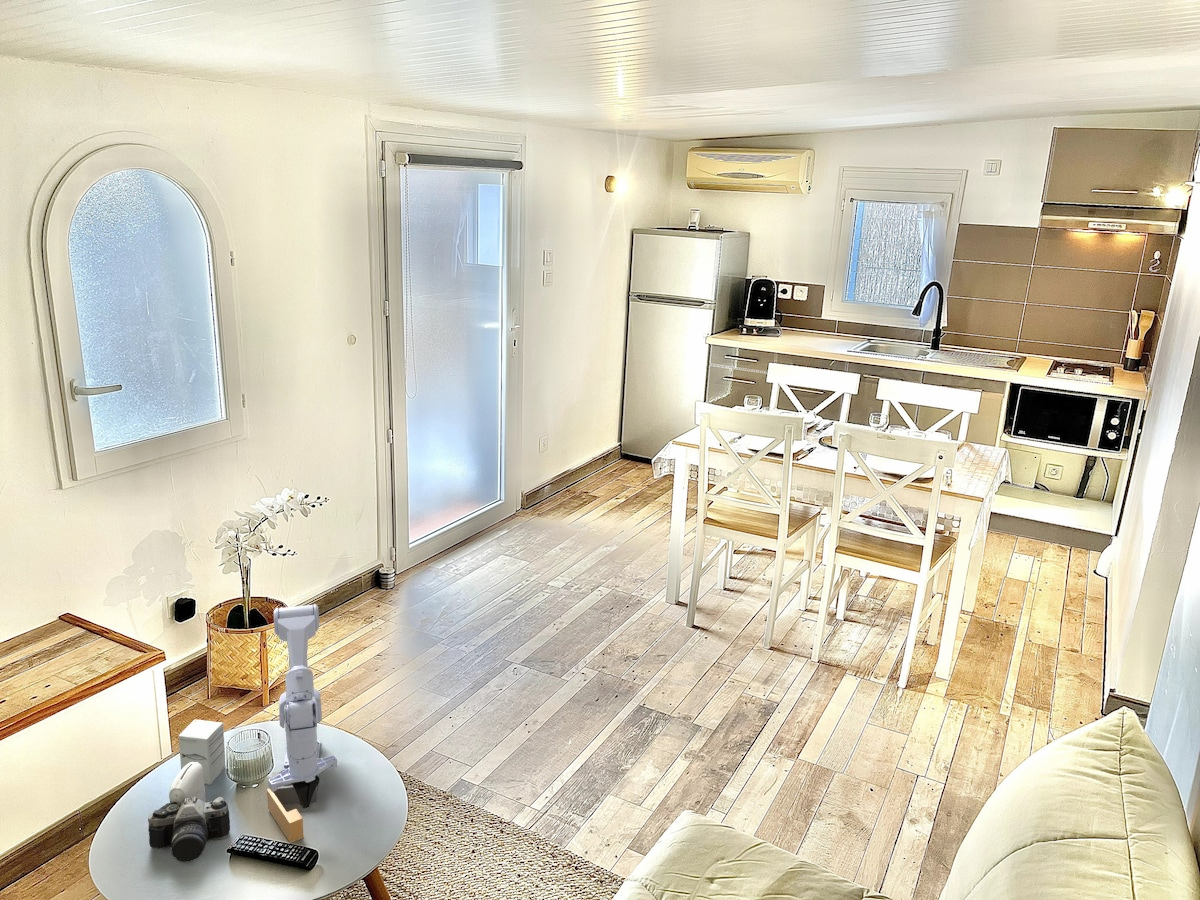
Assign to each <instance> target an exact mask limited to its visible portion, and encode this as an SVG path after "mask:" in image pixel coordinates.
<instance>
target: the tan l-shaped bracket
mask: <svg viewBox="0 0 1200 900" xmlns="http://www.w3.org/2000/svg"><path fill="white" fill-rule="evenodd" d="M266 797H267V800H266V801H267V809H268V811H269V812H270V814H271V815H272V817H273V818H274V820H275V821H276V823H277V825H278V826H279V827H280V828H281V831H282V832H283V833H284V835H285V837H286V838H287V840H288V841H289V842H290V844H291V843H294V842H296V841H299V840H301V839H304V821H303V820H304V819H303V817H302V815H301V814H300V812H299V811H298V809H297V808H294V809H292V810H289V811H286V809H285V807H284V805H282V804H281V803H280V801H279V800H278V798H277V797H276V796H275V794H274V793H273V792H272V791H271V790H270V789H269V788H267V789H266Z"/></svg>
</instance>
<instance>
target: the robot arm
mask: <svg viewBox="0 0 1200 900" xmlns="http://www.w3.org/2000/svg"><path fill="white" fill-rule="evenodd" d="M319 611H320V610H319V606H318V605H317V604H316V603H313V604H309V605H307V604H306V605H298V606H297V605H295V606H286V607H275V609H274V610H273V628H274V634H275V635H276V636H278V639H279V640H280V641H284V642H286V643H287V649H288V650H287V651H288V662H289V663H288V665H289V668H288V669H289V670H288V672H287V673H286V674H285V679H284V681H285V691H284V692H283V693H282V694H280V697H279V698H278V699H279V700H278V701H279V702H278V712H279V713H278V715H279V718H278V719H279V726H280V727H281V728H282V729H284V728H285V729H284V730H285V738H286V739H285V741H286V752H285V756H284V761H283V767H286V768H285V769H286V770H285V769H283V770H284V771H283V770H282V771H283V772H281V771H280V772H281V773H280V774H278V775H277V776H275V777H273V778H272V777H271V778H269V779H268V781H267V783H268V789H270V790H271V791H272V792H274V791H276V790H277V788H279V787H281V786H284V785H287V784H289V783H291V784H292V786H293V787H294V789H295V791H296V793H297V795H298V798H299V801H300V803H299V805H300V807H301V808H302V809H303V810H305V809H308V808H310V806H311V803H312V802H311V799H312V796H313V793H314V791H315V789H316V787H317V785H318V786H319V784H320V781H321V780H320V777H319V774H320V773H322V772H323V771H324V770H327V769H330V768H332V769H335V768H337V767H338V759H337V757H336V756H335V755H334V754H333V755H330V756H325V757H320V750H321V742H322V741H321V740H319V739H318V732H317V731H318V730H317V729H318V724H320V723H321V722H322V719H323V717H322V716H323V714H322V712H323V711H322V699H321V692H320V691H319V690H318V689H317V688H314V685H315V683H314V673H313V671H312V670H311V669H310V668H309V663H308V648H309V647H308V645H309V643H308V641H309V640H310V639H312V638H313V637H314V636H316V635H317V632H318V630H319V629H320V614H319ZM319 757H320V758H319ZM287 767H288V768H287ZM317 775H318V776H317Z"/></svg>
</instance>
